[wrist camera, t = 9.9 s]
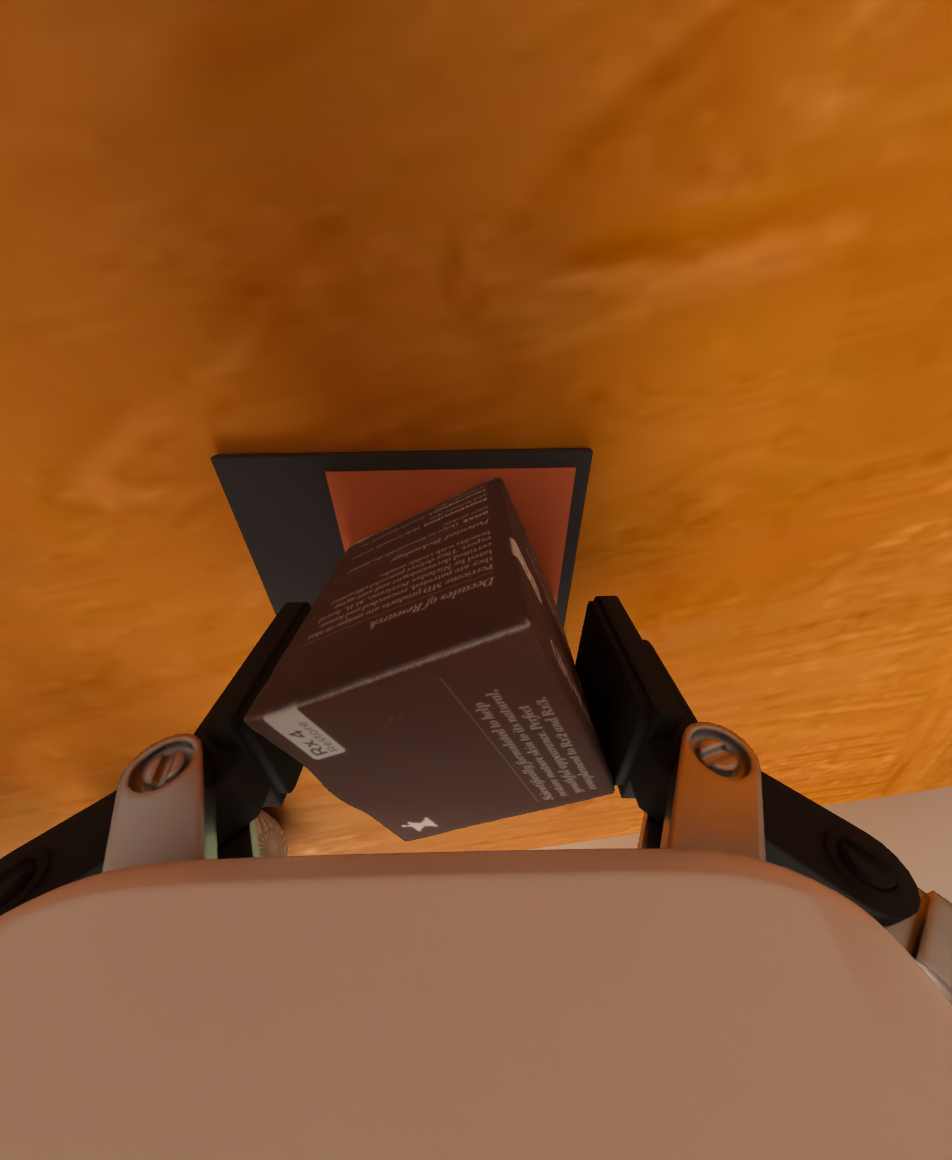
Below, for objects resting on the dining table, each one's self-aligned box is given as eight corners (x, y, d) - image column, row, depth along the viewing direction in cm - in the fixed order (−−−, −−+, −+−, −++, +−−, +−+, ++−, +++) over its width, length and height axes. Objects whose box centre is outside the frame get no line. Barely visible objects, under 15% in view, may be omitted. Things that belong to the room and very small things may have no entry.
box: (557, 605, 14) (622, 797, 8) (427, 651, 16) (402, 846, 10) (499, 469, 11) (537, 620, 5) (343, 541, 13) (230, 728, 7)
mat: (216, 454, 11) (207, 458, 11) (590, 447, 12) (594, 451, 11) (355, 793, 24) (352, 801, 23) (535, 788, 24) (536, 796, 23)
